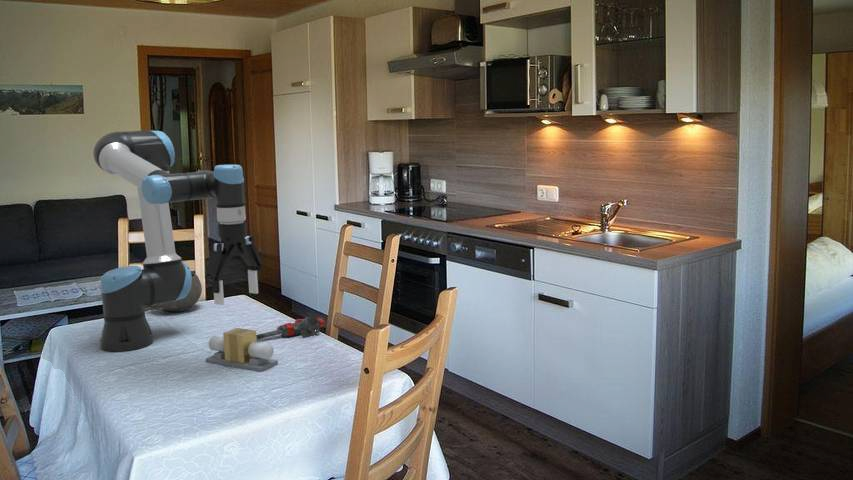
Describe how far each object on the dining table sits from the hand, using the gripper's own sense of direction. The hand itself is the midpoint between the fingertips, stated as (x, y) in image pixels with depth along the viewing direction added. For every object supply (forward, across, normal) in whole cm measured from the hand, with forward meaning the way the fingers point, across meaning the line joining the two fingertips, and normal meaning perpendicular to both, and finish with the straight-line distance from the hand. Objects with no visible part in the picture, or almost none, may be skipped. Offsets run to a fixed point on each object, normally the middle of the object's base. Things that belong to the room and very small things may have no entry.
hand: (237, 298), depth 203 cm
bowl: (+19, +36, +63) cm, 75 cm away
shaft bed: (+18, 0, 0) cm, 18 cm away
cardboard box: (+17, 0, 0) cm, 17 cm away
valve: (+19, +27, +7) cm, 34 cm away
